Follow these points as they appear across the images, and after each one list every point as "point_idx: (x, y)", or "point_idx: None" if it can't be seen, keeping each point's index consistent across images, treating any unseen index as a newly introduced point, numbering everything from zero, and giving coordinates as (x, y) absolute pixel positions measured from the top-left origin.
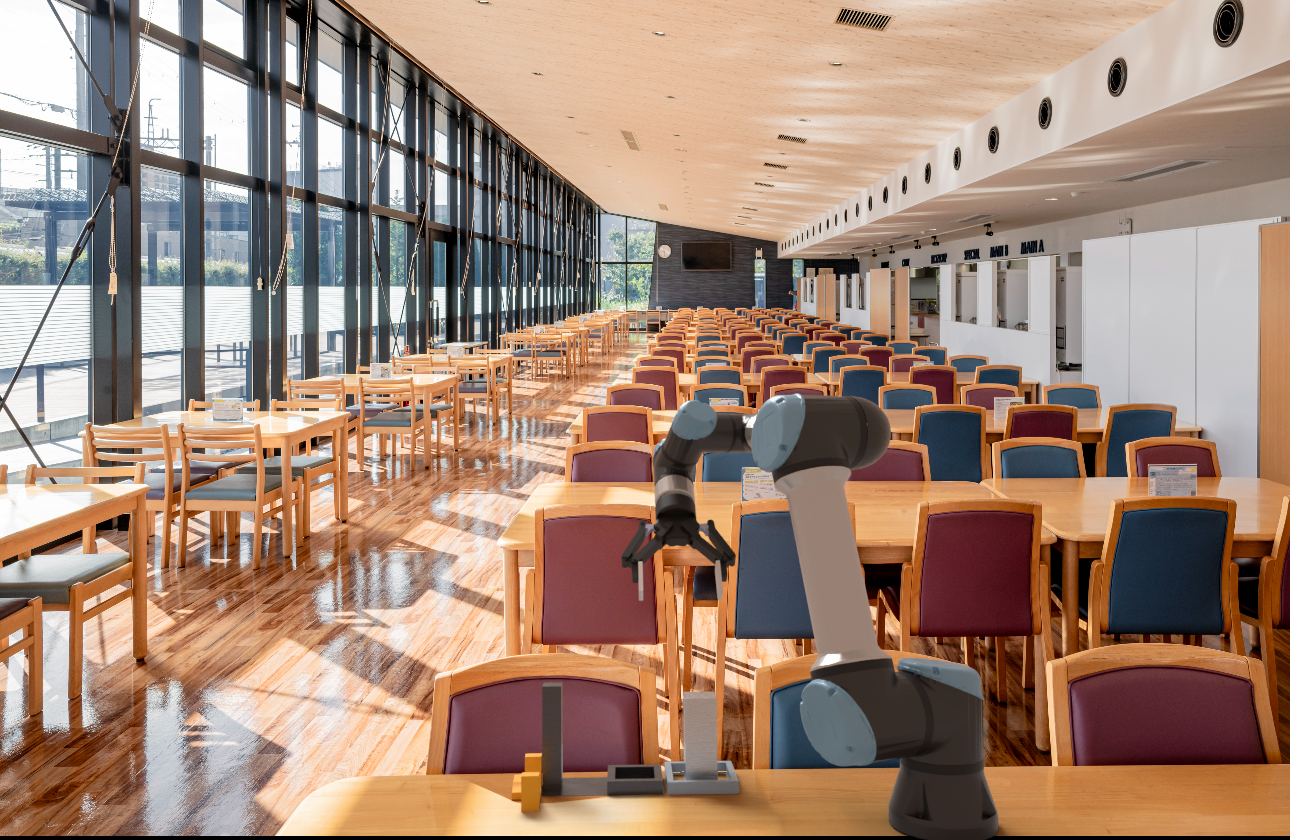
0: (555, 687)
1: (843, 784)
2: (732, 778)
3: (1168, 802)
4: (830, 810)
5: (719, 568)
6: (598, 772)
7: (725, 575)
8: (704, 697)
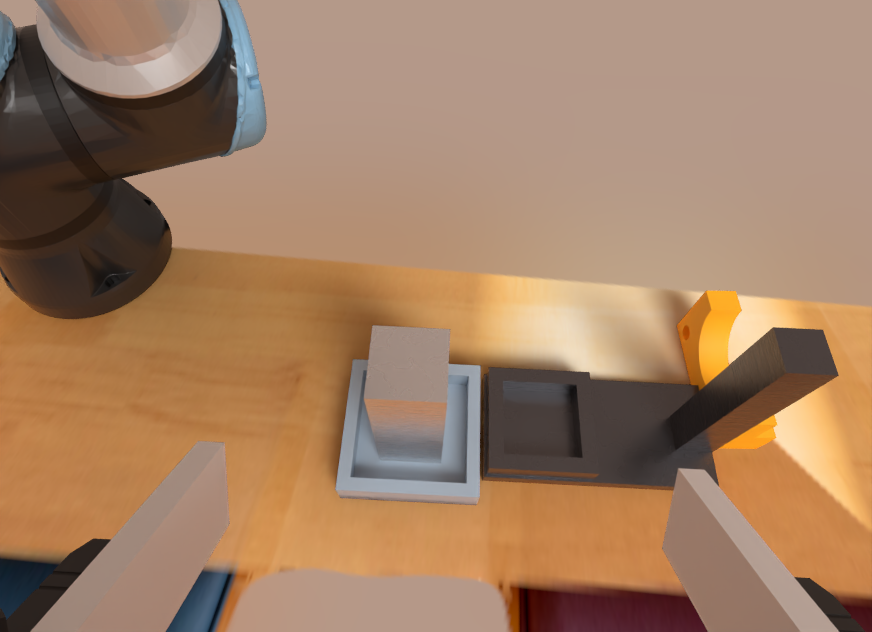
0: (786, 329)
1: (135, 444)
2: (360, 374)
3: None
4: (224, 321)
5: (107, 556)
6: (619, 579)
7: (93, 546)
8: (400, 337)
